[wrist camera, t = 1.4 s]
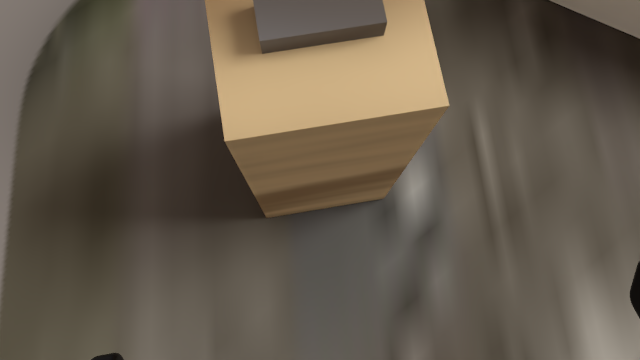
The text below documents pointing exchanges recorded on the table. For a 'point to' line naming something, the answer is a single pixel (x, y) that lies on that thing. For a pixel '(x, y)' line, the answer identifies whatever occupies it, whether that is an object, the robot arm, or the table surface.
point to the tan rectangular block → (324, 96)
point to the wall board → (609, 12)
